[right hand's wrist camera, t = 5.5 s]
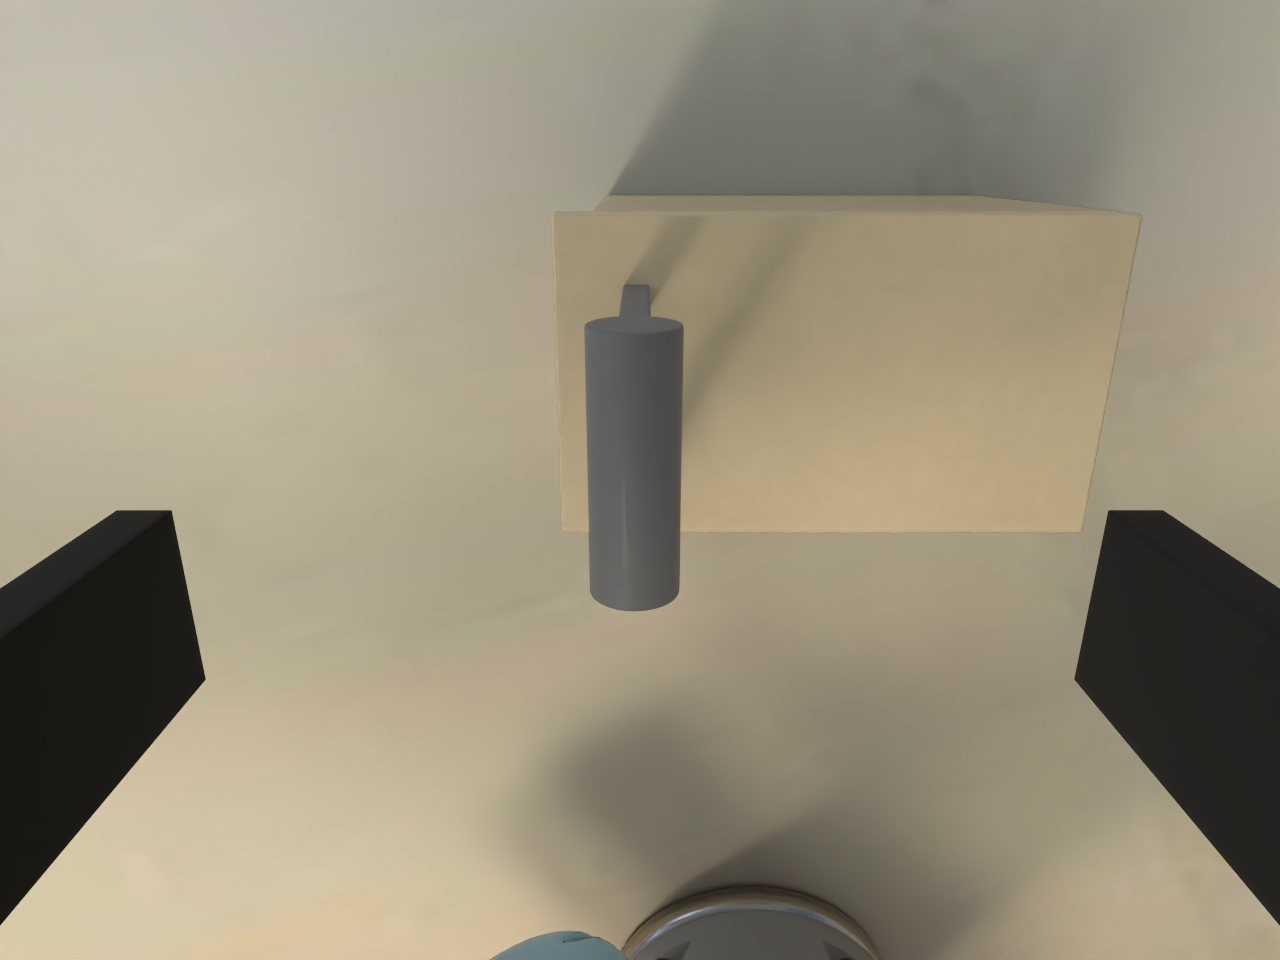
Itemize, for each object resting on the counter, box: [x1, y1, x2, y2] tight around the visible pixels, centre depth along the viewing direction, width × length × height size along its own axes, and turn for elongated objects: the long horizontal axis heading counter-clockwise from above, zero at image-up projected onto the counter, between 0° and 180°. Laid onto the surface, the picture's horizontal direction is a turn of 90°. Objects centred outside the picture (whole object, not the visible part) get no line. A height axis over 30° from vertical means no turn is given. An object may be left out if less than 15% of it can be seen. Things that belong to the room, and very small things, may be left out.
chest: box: [593, 195, 1113, 211], centre depth 31 cm, size 14×9×11 cm, turn 90°
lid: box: [551, 211, 1142, 611], centre depth 21 cm, size 16×9×9 cm, turn 90°
